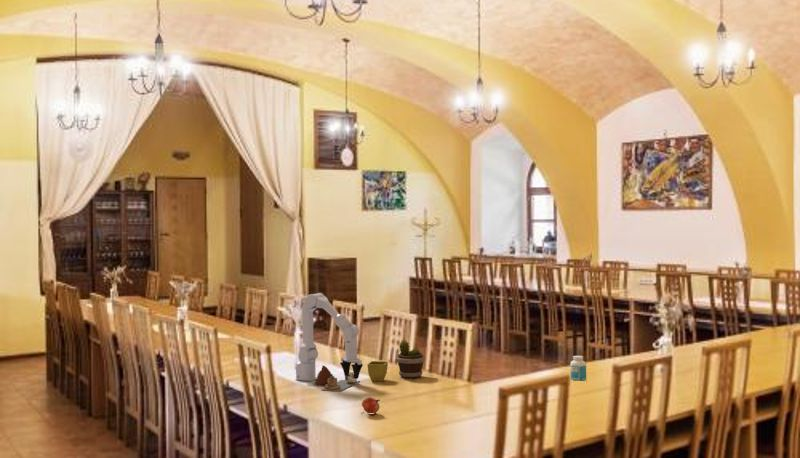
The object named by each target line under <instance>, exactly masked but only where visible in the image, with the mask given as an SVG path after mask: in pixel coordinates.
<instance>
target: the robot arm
mask: <svg viewBox="0 0 800 458" xmlns="http://www.w3.org/2000/svg"><path fill="white" fill-rule="evenodd" d="M317 308H318V309H323V310H324V311H325V312H327V314H328V315H330V316H331V317H332V319H334V321H333V322H334V323H335V324H336V326H337V327H338V328H339V329H340V330H341V331H342V335H343V336H344V340H345V342H344V343H345V344H344V345H345V347H344V348H345V351H344V352H345V356H341V358H340V361H341V362H340V365H341V368H342V371H343V375H344V376H345V375H347V374H350V372H351V371H350V370H351V369H352V372H353V374H354V379H357V380H358V379H359V377H360V373H361V369H362V367H363V365H364V364H363V360H362V359H359V358H358V334H359V333H360V329H359V327H358V326H357V324H353V322H351V321H350V320H349V319H348V318H347V316H346V315H345V314H343V313H340V312H338V311H337V309H336V308H335V307H334V306H333V305H332V303H330V301H329V299H328V297H327V296H325V295H324V293H322V292H318V293H310V294H308V295H307V296H305V297H304V302H303V304H302V307H301V326H302V327H301V328H302V331H301V333H302V343H301V345H300V346H299V352H298V354H297V355H298V357H297V358H298V360H299V361H297V363H296V366H295V379H294V380H295V381H306V382H307V381H308V382H313V381H315V380H316V379H317V373H316V359H317V358H318V356H319V352H318V349H317V345H316V343H315V342H314V311H315V310H316V309H317ZM351 367H352V368H351Z"/></svg>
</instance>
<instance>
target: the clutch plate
mask: <svg viewBox="0 0 800 458" xmlns="http://www.w3.org/2000/svg"><path fill="white" fill-rule="evenodd" d="M344 380H347V381H354V380H356V381H358V378H357V379H354V373H353V376H350V373H349V374H347V375H344Z"/></svg>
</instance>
